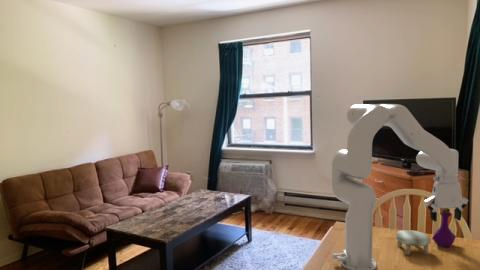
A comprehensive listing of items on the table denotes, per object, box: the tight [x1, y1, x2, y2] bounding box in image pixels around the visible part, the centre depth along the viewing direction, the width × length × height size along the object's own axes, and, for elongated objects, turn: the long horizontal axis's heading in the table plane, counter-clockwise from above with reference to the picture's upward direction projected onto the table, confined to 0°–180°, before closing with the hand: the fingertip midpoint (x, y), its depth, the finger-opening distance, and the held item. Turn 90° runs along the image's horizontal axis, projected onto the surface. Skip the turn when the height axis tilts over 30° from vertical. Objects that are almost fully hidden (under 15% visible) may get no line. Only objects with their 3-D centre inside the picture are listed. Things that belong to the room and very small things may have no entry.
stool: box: [395, 229, 431, 257], centre depth 138 cm, size 12×12×6 cm
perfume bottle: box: [431, 208, 456, 248], centre depth 141 cm, size 8×8×18 cm
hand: (445, 219), depth 141 cm, fingers open, 9 cm apart
